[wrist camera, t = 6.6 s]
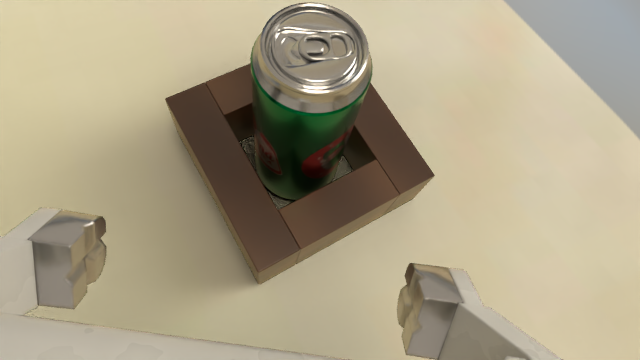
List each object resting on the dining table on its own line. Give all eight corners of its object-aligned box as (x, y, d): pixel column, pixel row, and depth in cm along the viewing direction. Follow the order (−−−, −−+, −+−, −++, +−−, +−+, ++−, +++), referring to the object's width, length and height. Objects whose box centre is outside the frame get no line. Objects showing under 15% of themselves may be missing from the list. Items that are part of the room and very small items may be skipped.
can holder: (258, 285, 26) (258, 273, 22) (177, 131, 29) (164, 98, 25) (413, 198, 29) (435, 175, 25) (325, 67, 32) (333, 29, 28)
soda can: (251, 132, 29) (243, -4, 18) (328, 126, 30) (365, -9, 19) (259, 207, 28) (257, 106, 17) (341, 198, 28) (390, 96, 17)
